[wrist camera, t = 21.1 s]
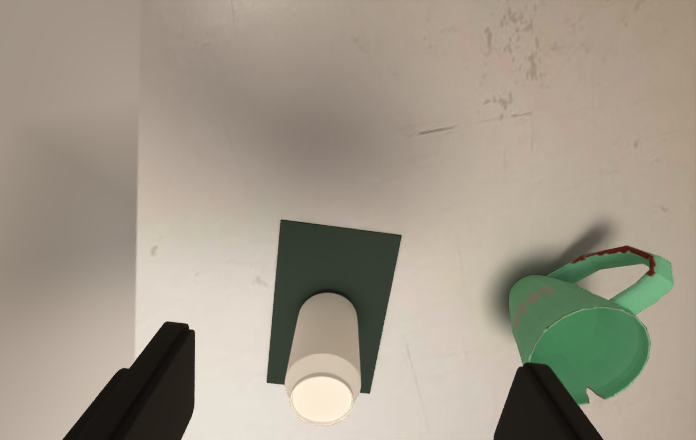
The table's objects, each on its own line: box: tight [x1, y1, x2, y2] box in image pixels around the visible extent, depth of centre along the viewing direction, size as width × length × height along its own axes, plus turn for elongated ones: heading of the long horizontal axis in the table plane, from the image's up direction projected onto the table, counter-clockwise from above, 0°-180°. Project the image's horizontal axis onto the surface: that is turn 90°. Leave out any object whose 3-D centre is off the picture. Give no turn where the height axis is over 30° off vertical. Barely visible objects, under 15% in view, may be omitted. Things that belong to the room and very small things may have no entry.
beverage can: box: [285, 293, 361, 426], centre depth 35 cm, size 6×6×12 cm
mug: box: [509, 246, 674, 405], centre depth 35 cm, size 15×10×10 cm
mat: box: [267, 220, 401, 394], centre depth 40 cm, size 20×12×1 cm, turn 172°
